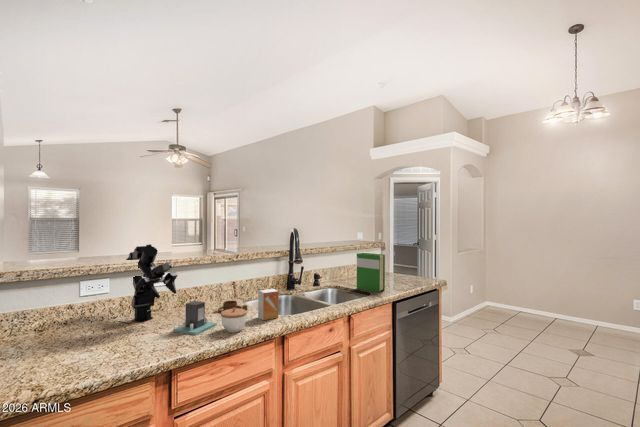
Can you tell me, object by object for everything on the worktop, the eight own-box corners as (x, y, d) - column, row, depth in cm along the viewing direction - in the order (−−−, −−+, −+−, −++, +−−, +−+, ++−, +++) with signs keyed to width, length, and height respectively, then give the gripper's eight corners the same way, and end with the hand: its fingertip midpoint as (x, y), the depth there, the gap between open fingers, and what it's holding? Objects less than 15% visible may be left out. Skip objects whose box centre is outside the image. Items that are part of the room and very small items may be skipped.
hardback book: (384, 290, 217) (384, 254, 217) (379, 292, 211) (379, 255, 211) (362, 286, 228) (362, 252, 228) (356, 288, 222) (356, 253, 223)
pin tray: (173, 331, 137) (173, 323, 137) (194, 322, 149) (194, 314, 149) (195, 335, 133) (196, 326, 133) (216, 325, 145) (216, 317, 145)
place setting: (247, 307, 176) (247, 296, 176) (248, 318, 157) (249, 306, 157) (213, 309, 172) (213, 298, 172) (210, 321, 152) (211, 308, 152)
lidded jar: (251, 329, 140) (251, 307, 140) (229, 336, 132) (230, 313, 132) (237, 324, 147) (237, 303, 147) (216, 330, 139) (216, 308, 139)
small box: (263, 320, 152) (263, 292, 152) (257, 317, 157) (258, 290, 157) (278, 317, 156) (278, 290, 156) (273, 314, 161) (273, 288, 162)
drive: (185, 326, 139) (185, 303, 140) (193, 323, 144) (193, 300, 144) (196, 328, 137) (197, 305, 137) (204, 325, 142) (205, 302, 142)
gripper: (141, 259, 137) (160, 287, 133) (174, 254, 154) (193, 279, 150) (127, 276, 139) (146, 305, 135) (162, 270, 157) (179, 295, 153)
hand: (167, 295), depth 143 cm, fingers open, 9 cm apart
